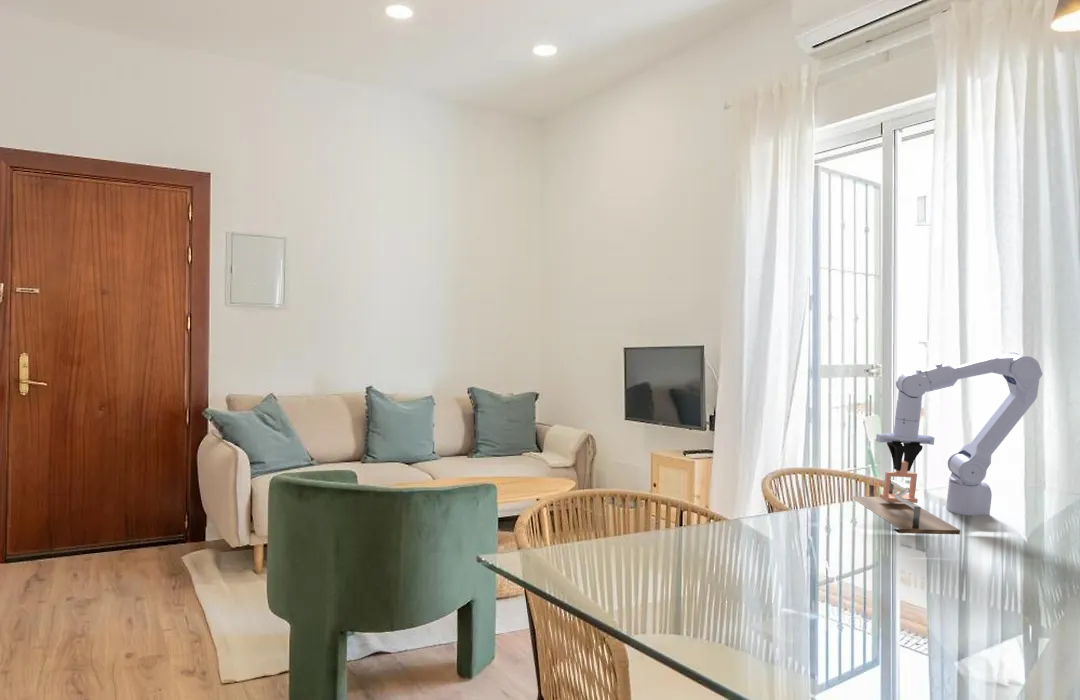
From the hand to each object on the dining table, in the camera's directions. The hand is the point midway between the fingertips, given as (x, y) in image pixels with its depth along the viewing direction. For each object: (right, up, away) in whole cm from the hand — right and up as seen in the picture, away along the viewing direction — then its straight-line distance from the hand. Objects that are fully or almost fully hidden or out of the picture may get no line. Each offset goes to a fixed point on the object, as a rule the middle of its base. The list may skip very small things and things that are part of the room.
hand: (901, 470), depth 195 cm
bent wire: (-3, -11, -5) cm, 12 cm away
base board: (-3, -11, -5) cm, 12 cm away
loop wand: (0, -8, +1) cm, 8 cm away
